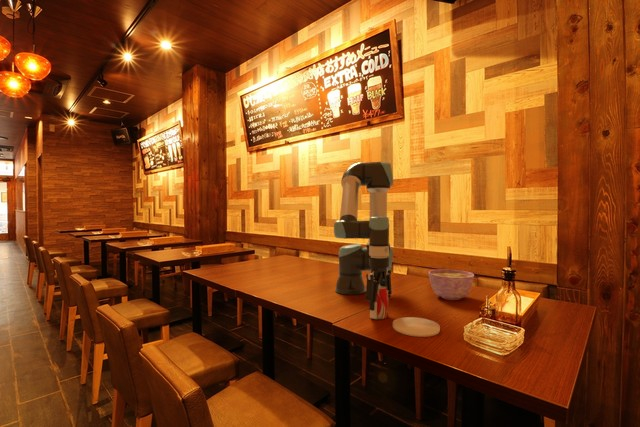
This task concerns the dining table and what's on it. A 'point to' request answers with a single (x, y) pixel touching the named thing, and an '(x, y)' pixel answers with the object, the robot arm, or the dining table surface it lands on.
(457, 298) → the bowl of food
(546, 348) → the dining table surface
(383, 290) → the soda can
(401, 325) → the plate
